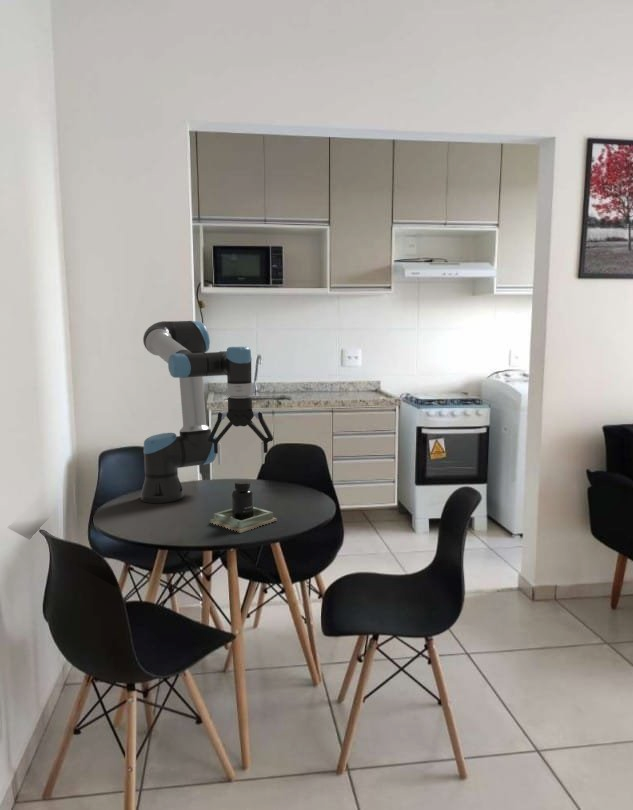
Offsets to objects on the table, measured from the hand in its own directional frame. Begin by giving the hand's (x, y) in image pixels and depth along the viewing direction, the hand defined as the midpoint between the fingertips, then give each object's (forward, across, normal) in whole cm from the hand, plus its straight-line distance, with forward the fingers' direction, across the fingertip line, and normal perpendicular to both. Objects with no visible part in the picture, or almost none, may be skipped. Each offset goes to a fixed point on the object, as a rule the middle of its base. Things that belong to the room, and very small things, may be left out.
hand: (241, 463), depth 195 cm
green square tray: (+19, 0, -1) cm, 19 cm away
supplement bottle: (+18, 0, 0) cm, 18 cm away
